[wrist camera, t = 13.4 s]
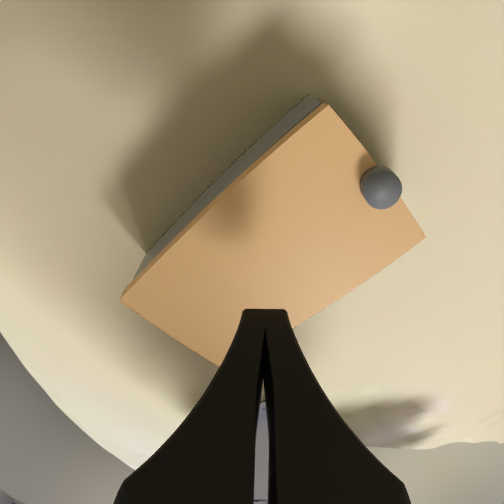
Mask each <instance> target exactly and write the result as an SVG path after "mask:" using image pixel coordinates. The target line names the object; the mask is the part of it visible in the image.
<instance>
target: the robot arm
mask: <svg viewBox="0 0 504 504" xmlns="http://www.w3.org/2000/svg"><path fill="white" fill-rule="evenodd" d="M263 380H264V391H265V402H263V403H260V401H261V392H262V384H263ZM0 504H26V503H24V502H22V501H20V500H18V499H16V498H14V497H13V496H11V495H10V494H8V493H6V492H5V491H3V490H1V489H0ZM114 504H411V502H410V499H409V496H408V493H407V490H406V488H405V485H404V483H403V482H402V481H400V480H399V479H398V478H397V477H396V476H395V475H393V473H392V472H390V471H389V470H388V469H387V468H386V467H385V466H384V465H383V464H382V463H381V462H380V461H379V460H378V459H377V458H376V457H375V456H374V455H373V454H372V453H371V452H370V451H369V450H368V449H367V448H366V447H365V445H364V444H363V443H362V442H361V441H360V440H359V438H358V437H357V436H356V435H355V434H354V433H353V431H352V430H351V429H350V428H349V427H348V425H347V424H346V423H345V422H344V420H343V419H342V418H341V416H340V415H339V413H338V412H337V411H336V409H335V408H334V406H333V405H332V404H331V402H330V401H329V399H328V398H327V396H326V394H325V393H324V391H323V390H322V388H321V386H320V385H319V383H318V381H317V380H316V378H315V376H314V374H313V373H312V371H311V369H310V367H309V365H308V363H307V361H306V359H305V357H304V355H303V353H302V351H301V349H300V346H299V344H298V342H297V339H296V337H295V335H294V332H293V329H292V327H291V324H290V320H289V317H288V313H287V311H286V310H285V309H245V310H243V311H242V315H241V319H240V322H239V326H238V328H237V331H236V334H235V336H234V338H233V341H232V343H231V345H230V347H229V349H228V352H227V354H226V356H225V358H224V360H223V362H222V364H221V365H220V367H219V369H218V371H217V372H216V374H215V376H214V378H213V379H212V381H211V383H210V385H209V386H208V388H207V389H206V391H205V392H204V394H203V395H202V397H201V398H200V400H199V401H198V403H197V404H196V405H195V407H194V408H193V409H192V411H191V412H190V413H189V415H188V416H187V417H186V418H185V420H184V421H183V422H182V424H181V425H180V426H179V427H178V428H177V430H176V431H175V432H174V433H173V434H172V435H171V436H170V437H169V438H168V439H167V441H166V442H165V443H164V444H163V445H162V446H161V447H160V448H159V449H158V450H157V451H156V452H155V453H154V454H153V455H152V456H151V457H150V458H149V459H148V460H147V461H146V462H145V463H143V464H142V465H141V466H140V467H139V468H138V469H137V470H135V471H134V472H133V473H132V474H131V475H130V476H129V477H127V478H126V479H125V480H124V481H123V483H122V485H121V487H120V489H119V491H118V493H117V496H116V498H115V501H114ZM502 504H504V503H502Z"/></svg>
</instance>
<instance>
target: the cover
mask: <svg viewBox="0 0 504 504" xmlns="http://www.w3.org/2000/svg"><path fill="white" fill-rule="evenodd" d="M401 193H402V185H401V182H400V180H399V178H398V177H397V176H396V175H395V174H394V173H393V172H392V171H391V170H390V169H389V168H387V167H385V166H378V165H377V164H376V163H375V161H374V160H373V159H372V157H371V156H370V155H369V153H368V152H367V151H366V149H365V148H364V147H363V146H362V144H361V143H360V142H359V141H358V139H357V138H356V137H355V136H354V134H353V133H352V132H351V131H350V129H349V128H348V127H347V126H346V125H345V123H344V122H343V121H342V120H341V119H340V117H339V116H338V115H337V114H336V113H335V112H334V110H333V109H332V108H331V107H330V106H329V105H328V104H327V103H325V102H323V103H322V104H321V105H320V106H319V107H317V108H316V109H315V110H314V111H313V112H311V113H310V114H309V115H308V116H307V117H306V118H304V119H303V120H302V121H301V122H300V123H298V124H297V125H296V126H295V127H294V128H293V129H291V130H290V131H289V132H288V133H287V134H286V135H284V136H283V137H282V138H281V139H280V140H279V141H278V142H276V143H275V144H274V145H273V146H272V147H271V148H270V149H269V150H267V151H266V152H265V153H264V154H263V155H262V156H261V157H260V158H258V159H257V160H256V161H255V162H254V163H253V164H252V165H251V166H250V167H248V168H247V169H246V170H245V171H244V172H243V173H242V174H241V175H240V176H239V177H238V178H236V179H235V180H234V181H233V182H232V183H231V184H230V185H229V186H228V187H227V188H226V189H225V190H224V191H222V192H221V193H220V194H219V195H218V196H217V197H216V198H215V199H214V200H213V201H212V202H211V203H210V204H209V205H208V206H207V207H206V208H205V209H204V210H202V211H201V212H200V213H199V214H198V215H197V216H196V217H195V218H194V219H193V220H192V221H191V222H190V223H189V224H188V225H187V226H186V227H185V228H184V229H183V230H182V231H181V232H180V233H179V234H178V235H177V236H176V237H175V238H174V239H173V240H172V241H171V242H170V243H169V244H168V245H167V246H166V247H165V248H164V249H163V250H162V251H161V252H160V253H159V254H158V255H157V256H156V257H155V258H154V259H153V260H152V261H151V262H150V263H149V264H148V265H147V266H146V267H145V268H144V269H143V270H142V271H141V273H140V274H139V275H138V276H137V277H136V278H135V279H134V280H133V281H132V282H131V283H130V284H129V285H128V286H127V287H126V288H125V289H124V291H123V293H122V296H121V298H120V301H121V302H122V303H124V304H125V305H126V306H128V307H129V308H130V309H132V310H133V311H135V312H136V313H137V314H139V315H140V316H142V317H143V318H145V319H146V320H147V321H149V322H150V323H152V324H153V325H155V326H156V327H158V328H159V329H161V330H162V331H164V332H165V333H167V334H168V335H170V336H171V337H173V338H174V339H176V340H177V341H179V342H180V343H182V344H183V345H185V346H186V347H188V348H190V349H191V350H193V351H194V352H196V353H198V354H199V355H201V356H202V357H204V358H206V359H207V360H209V361H210V362H212V363H214V364H215V365H217V366H219V367H220V365H221V364H222V362H223V360H224V358H225V356H226V354H227V352H228V349H229V347H230V345H231V343H232V341H233V338H234V336H235V334H236V331H237V328H238V326H239V322H240V319H241V315H242V311H243V310H245V309H285V310H286V311H287V313H288V317H289V320H290V324H291V327H292V329H293V328H294V327H296V326H297V325H299V324H301V323H302V322H304V321H306V320H307V319H309V318H310V317H312V316H313V315H315V314H317V313H318V312H320V311H321V310H323V309H324V308H326V307H327V306H329V305H331V304H332V303H334V302H335V301H337V300H338V299H340V298H341V297H343V296H344V295H346V294H347V293H349V292H350V291H352V290H353V289H355V288H356V287H358V286H359V285H360V284H362V283H363V282H365V281H366V280H368V279H369V278H371V277H372V276H373V275H375V274H376V273H378V272H379V271H381V270H382V269H383V268H385V267H386V266H388V265H389V264H390V263H392V262H393V261H395V260H396V259H397V258H399V257H400V256H401V255H403V254H404V253H405V252H407V251H408V250H410V249H411V248H412V247H414V246H415V245H416V244H418V243H419V242H420V241H422V240H423V239H424V238H425V237H426V236H425V235H424V233H423V231H422V230H421V228H420V226H419V225H418V223H417V222H416V220H415V219H414V217H413V216H412V214H411V212H410V211H409V209H408V208H407V206H406V205H405V203H404V202H403V200H402V199H401V198H400V196H401Z"/></svg>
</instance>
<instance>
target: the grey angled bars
mask: <svg viewBox="0 0 504 504" xmlns="http://www.w3.org/2000/svg"><path fill="white" fill-rule="evenodd" d="M321 104H322V102H321V101H320V100H318V99H317V98H315V97H314V96H312V95H311V94H309V95H307V96H306V97H305V98H304V99H303V100H302V101H301V102H299V103H298V104H297V105H296V106H295V107H294V108H293V109H292V110H290V111H289V112H288V113H287V114H286V115H285V116H284V117H283V118H281V119H280V120H279V121H278V122H277V123H276V124H275V125H274V126H273V127H272V128H270V129H269V130H268V131H267V132H266V133H265V134H264V135H263V136H262V137H261V138H260V139H259V140H258V141H256V142H255V143H254V144H253V145H252V146H251V147H250V148H249V149H248V150H247V151H246V152H245V153H244V154H243V155H242V156H241V157H240V158H239V159H238V160H237V161H235V162H234V163H233V164H232V165H231V166H230V167H229V168H228V169H227V170H226V171H225V172H224V173H223V174H222V175H221V176H220V177H219V178H218V179H217V180H216V181H215V182H214V183H213V184H212V185H211V186H210V187H209V188H208V189H207V190H206V191H205V192H204V193H203V194H202V195H201V196H200V197H199V198H198V199H197V200H196V201H195V202H194V203H193V204H192V205H191V207H190V208H189V209H188V210H187V211H186V212H185V213H184V214H183V215H182V216H181V217H180V218H179V219H178V220H177V221H176V222H175V223H174V224H173V225H172V226H171V228H170V229H169V230H168V231H167V232H166V233H165V234H164V235H163V236H162V237H161V238H160V239H159V240H158V242H157V243H156V244H155V245H154V246H153V247H152V248H151V249H150V250H149V251H148V253H147V254H146V255H145V257H144V259H143V261H142V263H141V265H140V267H139V269H138V271H137V273H136V275H135V277H134V279H135V278H136V277H137V276H138V275H139V274H140V273H141V271H142V270H143V269H144V268H145V267H146V266H147V265H148V264H149V263H150V262H151V261H152V260H153V259H154V258H155V257H156V256H157V255H158V254H159V253H160V252H161V251H162V250H163V249H164V248H165V247H166V246H167V245H168V244H169V243H170V242H171V241H172V240H173V239H174V238H175V237H176V236H177V235H178V234H179V233H180V232H181V231H182V230H183V229H184V228H185V227H186V226H187V225H188V224H189V223H190V222H191V221H192V220H193V219H194V218H195V217H196V216H197V215H198V214H199V213H200V212H201V211H202V210H204V209H205V208H206V207H207V206H208V205H209V204H210V203H211V202H212V201H213V200H214V199H215V198H216V197H217V196H218V195H219V194H220V193H221V192H222V191H224V190H225V189H226V188H227V187H228V186H229V185H230V184H231V183H232V182H233V181H234V180H235V179H236V178H238V177H239V176H240V175H241V174H242V173H243V172H244V171H245V170H246V169H247V168H248V167H250V166H251V165H252V164H253V163H254V162H255V161H256V160H257V159H258V158H260V157H261V156H262V155H263V154H264V153H265V152H266V151H267V150H269V149H270V148H271V147H272V146H273V145H274V144H275V143H276V142H278V141H279V140H280V139H281V138H282V137H283V136H284V135H286V134H287V133H288V132H289V131H290V130H291V129H293V128H294V127H295V126H296V125H297V124H298V123H300V122H301V121H302V120H303V119H304V118H306V117H307V116H308V115H309V114H310V113H311V112H313V111H314V110H315V109H316V108H317V107H319V106H320V105H321ZM134 279H133V280H134Z"/></svg>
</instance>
